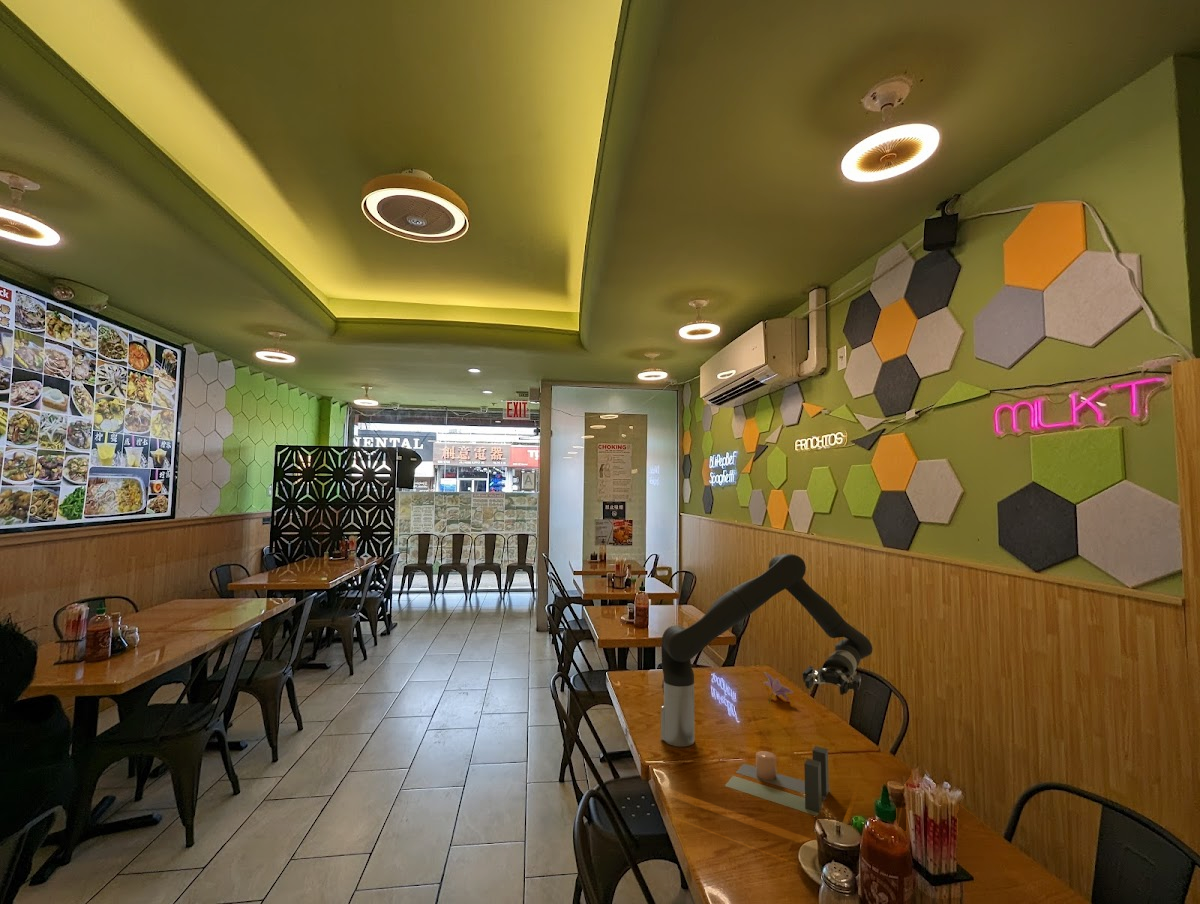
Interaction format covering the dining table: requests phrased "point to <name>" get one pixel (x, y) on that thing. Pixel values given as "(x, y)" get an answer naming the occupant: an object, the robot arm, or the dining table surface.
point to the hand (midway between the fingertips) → (824, 688)
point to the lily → (777, 687)
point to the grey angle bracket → (807, 804)
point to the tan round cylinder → (766, 765)
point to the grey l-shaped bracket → (792, 783)
